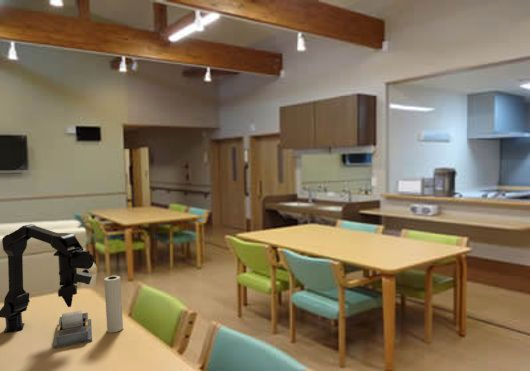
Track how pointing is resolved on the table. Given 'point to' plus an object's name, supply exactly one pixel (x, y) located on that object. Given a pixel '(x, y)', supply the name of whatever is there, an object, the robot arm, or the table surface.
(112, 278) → the paper towel roll
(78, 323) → the plain gray rectangular block
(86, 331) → the rack
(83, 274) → the robot arm
